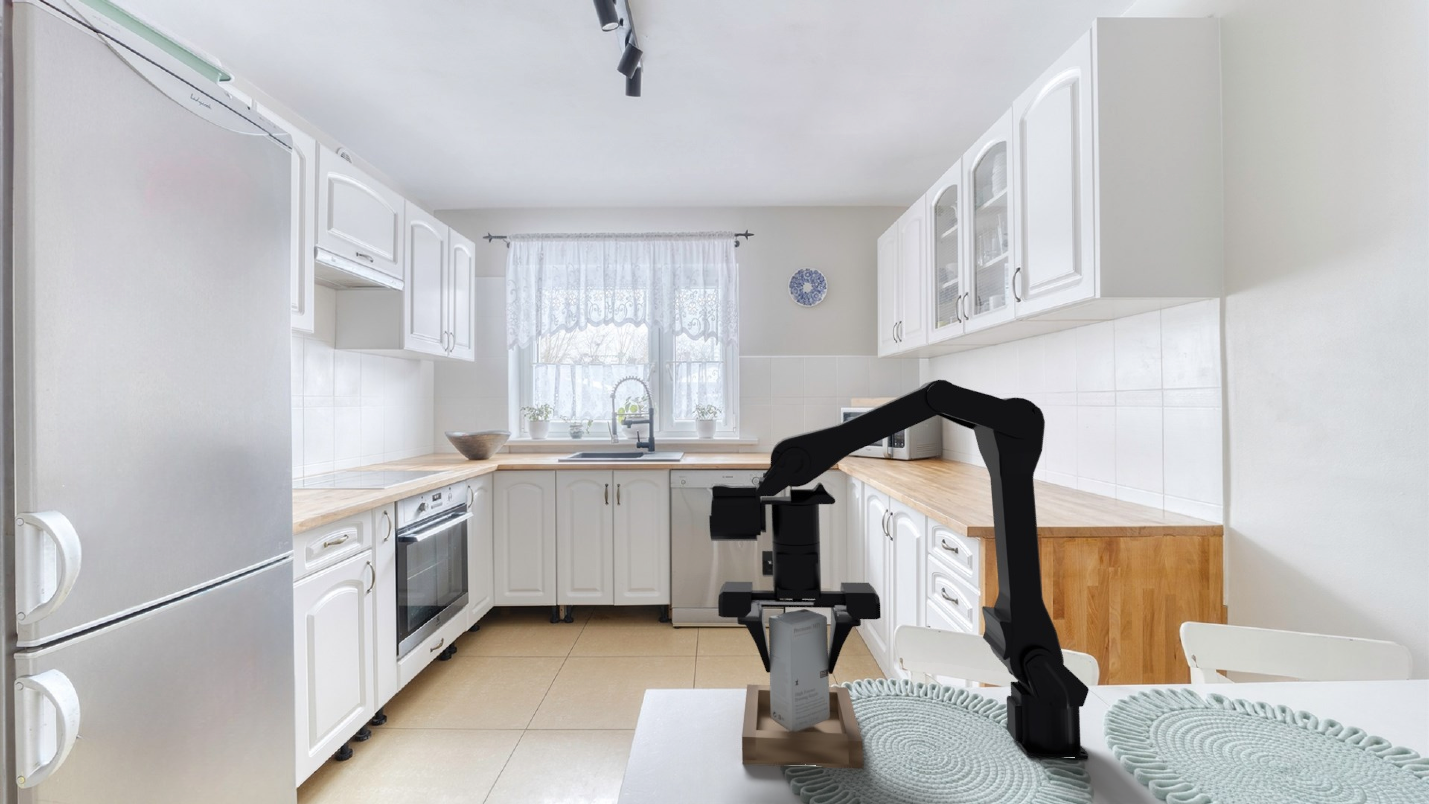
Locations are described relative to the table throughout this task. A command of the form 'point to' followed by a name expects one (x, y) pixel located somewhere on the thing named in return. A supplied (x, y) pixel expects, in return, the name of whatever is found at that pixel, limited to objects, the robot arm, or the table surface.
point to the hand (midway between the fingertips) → (799, 671)
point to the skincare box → (799, 669)
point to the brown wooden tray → (801, 734)
